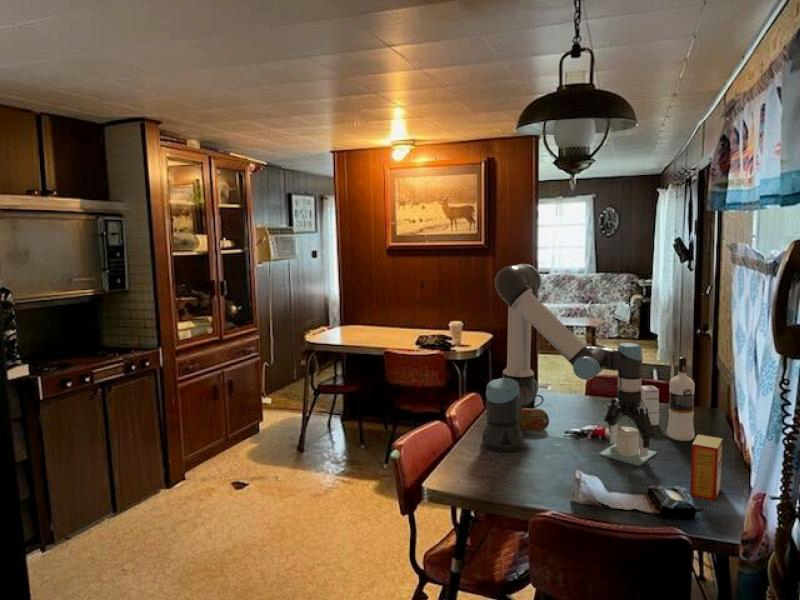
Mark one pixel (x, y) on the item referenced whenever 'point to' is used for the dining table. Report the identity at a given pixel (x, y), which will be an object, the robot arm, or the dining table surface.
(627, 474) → the dining table surface
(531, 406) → the coffee mug
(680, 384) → the vodka
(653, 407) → the syrup box
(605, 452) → the base
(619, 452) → the cap
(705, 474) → the baking soda box
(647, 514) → the dining table surface
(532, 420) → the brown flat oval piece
